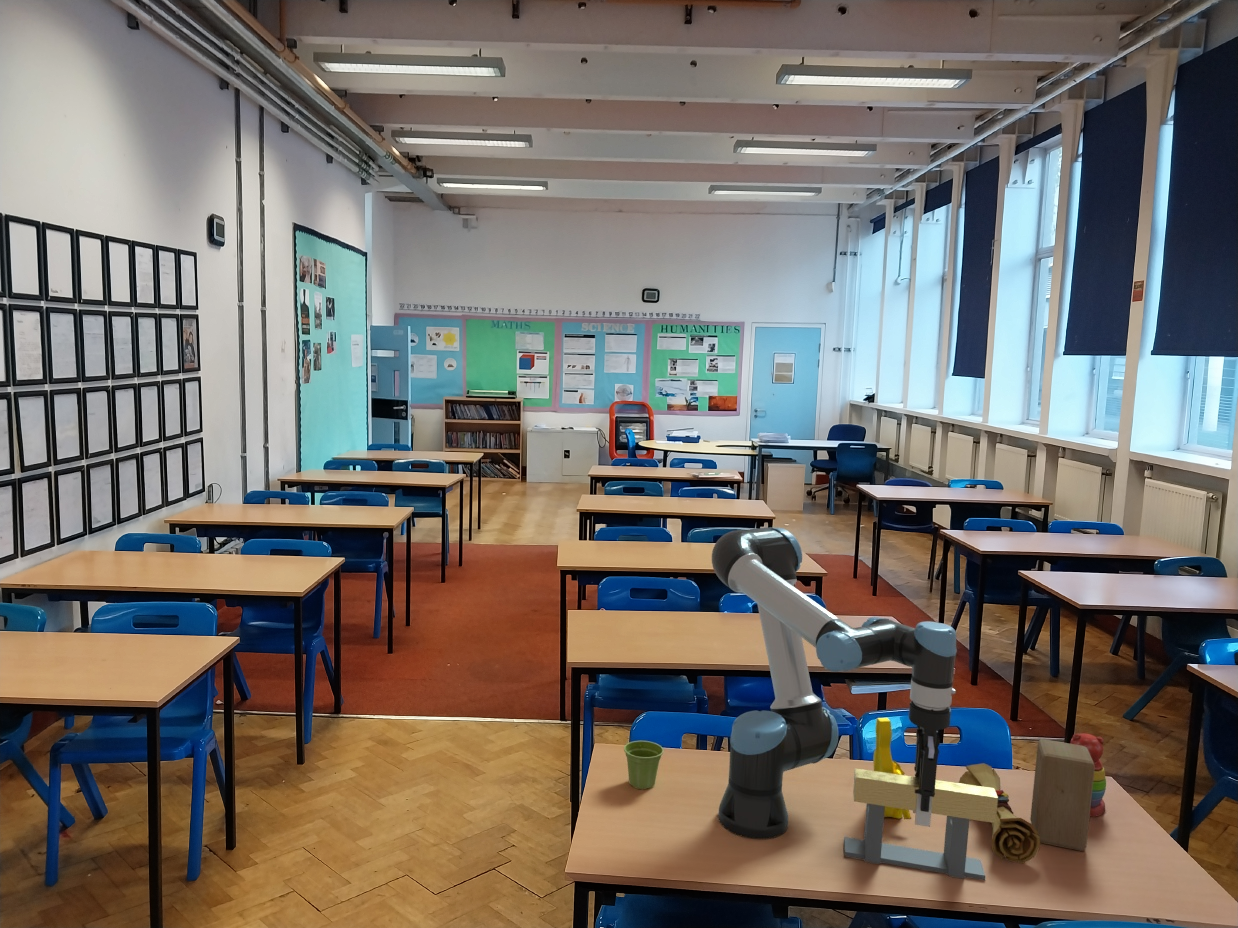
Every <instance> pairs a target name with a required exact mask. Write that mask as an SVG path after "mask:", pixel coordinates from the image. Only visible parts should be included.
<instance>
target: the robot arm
mask: <svg viewBox="0 0 1238 928" xmlns="http://www.w3.org/2000/svg"><path fill="white" fill-rule="evenodd" d="M802 562H803V550H802V548H801V545H800V543H799V541H798V539H797V538H796V536H795V535H793V533H791V532H790V531H789V530H787V529H785V528H783V527H771V526H770V527H768V526H767V527H762V528H761V527H760V528H759V527H758V528H753V529H752V528H751V529H750V528H749V529H739V530H732V531H729V532H727V533H725V534H723V535H721V537H720V538H718V539H717V541H716V542H715V544H714V547H713V548H712V552H711V564H712V568H713V571H714V573H715V574H716V576H717V577H718V579H719V580H720V581H721V582H722V583H723V584H724V585H725V586H726V587H728V588H729V589H730V590H732V591H733V592H735V593H743V594H745V595H746V596H747V597H748V598H750V599H751V600H752V601H754V602H755V603H756V604H757V609H758V613H759V619H760V624H761V628H762V629H761V631H762V634H763V639H764V646H765V650H766V656H767V661H768V666H769V671H770V676H771V681H772V687H773V692H774V698H775V699H774V700H773V702H772V704H770V710H766V709H765V710H764V709H763V710H760V711H759V710H757V709H756V710H750V711H746V712H744V713H742V714H740V715H739V716H737V718H735V720H734V721H733V723H732V726H731V734H730V737H729V742H730V745H729V746H730V748H729V767H728V768H729V769H728V784H727V786H726V789H725V791H724V793H723V796H722V798H721V800H720V804H719V807H718V817H717V818H718V821H719V823H720V825H721V827H723V828H724V829H726V830H727V831H729V832H730V833H732V834H734V835H737V836H740V837H743V838H746V839H747V838H748V839H753V840H768V839H774V838H778V837H779V836H781V835H783V834H784V833H785V832H787V829H788V823H789V813H788V811H787V810H788V809H787V807H786V806H787V805H786V801H785V797H784V794H783V779H784V777H783V776H784V773H785V772H787V771H790V770H793V769H796V768H800V767H804V766H807V765H811V764H817V763H818V762H819V763H820V761H822V760H824V759H825V760H826V759H827V758H828V757H830V756H831V755H832V754H833V753H834V751H835V750H836V748H837V747H838V746H837V745H838V742H839V728H838V727H839V726H838V723H837V721H836V718H835V716H834V715H832V714H831V711H830V710H829V709H827V708H826V707H824V706H823V703H822V699H821V698H820V697H818V696H817V695H816V694H815V693H814V691H813V688H812V682H811V678H810V673H809V668H808V663H807V662H808V661H807V657H806V653H805V652H806V651H805V647H804V642H803V640H804V641H806V642H808V644H810V645H811V646H812V647H814V648H815V652H816V656H817V659H818V660H819V661H820V664H821V666H822V667H823V668H824V669H826V670H827V671H830V672H834V673H837V672H848V671H849V672H850V671H854V670H856V669H859V668H863V667H868V666H871V665H877V664H881V663H886V662H896V663H898V664H901V665H903V666H907V667H911V668H912V669H911V678H910V679H911V680H910V693H909V699H910V700H911V701H910V702H909V708H908V720H909V721H910V722H911V724H914V725H915V726H916V727H917V728H916V729H915V736H916V742H915V745H916V746H915V747H916V749H915V759H914V760H915V761H914V763H915V764H914V768H913V769H914V772H915V773H914V777H919V789H918V790H917V789H915V793H917V803H916V811H913V810H912V813H913V814H915V816H914V817H915V819H914V820H915V821H914V825H915V826H921V827H926V828H927V827H928V828H929V827H931V821H932V820H931V819H932V813H931V809H932V797H934V795H935V781H936V780H937V779H936V778H937V771H938V758H939V754H940V749H939V746H940V743H941V741H940V740H941V739H940V736H939V731H941V730H946V729H947V728H949V727H950V725H951V714H952V709H951V707H950V706H951V705H952V700H953V699H952V697H953V696H952V695H956V691H957V690H956V689H955V688H953V686H954V675H955V674H954V673H955V671H954V670H955V663H956V662H955V661H956V657H957V653H958V649H957V631H956V630H955V629H954V628H953V627H952V625H949V624H946V623H941V622H936V621H929V620H928V621H921V622H918V623H917V624H916V625H915V627H912V626H908V625H905V624H902V623H899V622H896V621H894V620H892V619H889V618H885V617H884V618H883V617H880V616H879V617H878V616H871V617H869V618H868V619H867V620H866V621H864V622H863V623H862V625H861V626H858V627H852V626H850V625H848V623H846V622H845V621H843V620H841V619H840V618H838V616H836V615H834V614H833V613H832V612H830V611H828V610H827V609H826V608H825V607H823V606H822V605H820V603H817V602H816V601H815V600H813V598H811V597H809V596H807V594H805V593H803V592H802V591H800V590H799V589H798V588H796V587H795V584H796V583H797V582H798V580H797V574H796V573H797V572H798V571H799V569H800V568H801V563H802Z"/></svg>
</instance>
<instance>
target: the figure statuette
mask: <svg viewBox="0 0 1238 928" xmlns="http://www.w3.org/2000/svg"><path fill="white" fill-rule="evenodd" d="M892 730H893V729H892V722H891V720H890V719H889V718H888V717H877V718H876V722H875V749H874V752H873V759H872V760H873V771H877V772H884V773H891V774H898V775H906V774H905V771H904V770H903V769H902V766H900V764H899V763H898V762H897V760H896V761H895V760H893V758H892V751H891V742H892V736H893V731H892ZM884 818H894V819H902V818H903V820H910V819H912V816H911V813H910V810H907V809H900V808H894V807H887V806H885V811H884Z"/></svg>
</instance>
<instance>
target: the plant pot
mask: <svg viewBox="0 0 1238 928" xmlns="http://www.w3.org/2000/svg"><path fill="white" fill-rule="evenodd" d="M623 751H624V754H625V757H626V761H627V769H628V770H627V771H628V783H629V785H631V786H633V788H635V789H638V790H647V789H648V788H649V789H650V788H653V787H655V784H656V780H657V774H658V770H659V764H660V760H661V758H662V755H663V754H664V751H665V750H664V748H663V747H662V745H660V744H658V743H656V742H653V741H648V740H634V741H630V742H627V743H626V744H625V745H624V746H623Z"/></svg>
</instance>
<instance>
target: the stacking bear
mask: <svg viewBox="0 0 1238 928" xmlns="http://www.w3.org/2000/svg"><path fill="white" fill-rule="evenodd" d="M1104 743H1105V741H1104V738H1103V737H1101V736H1096V735H1093V734H1091V733H1084V732H1082V733H1074V734H1073V735H1072V738H1071V740H1070V743H1069V744H1075V745H1081V746H1085V747H1087V749H1088V751H1089V753H1090V756H1091V758H1092V760H1093V762H1094V765H1095V770H1094V779H1093V789H1092V798H1091V807H1090V817H1093V818H1094V817H1099V816H1101V815H1102V814H1104V813H1105V811H1106V803H1105V801H1104V800H1103V798H1104V796H1105V794H1106V789H1107V778H1106V771H1105V767H1104V766H1103V763H1102V762H1101V757H1102V756H1103V754H1104V746H1103V744H1104ZM1090 817H1089V818H1090Z"/></svg>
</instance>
